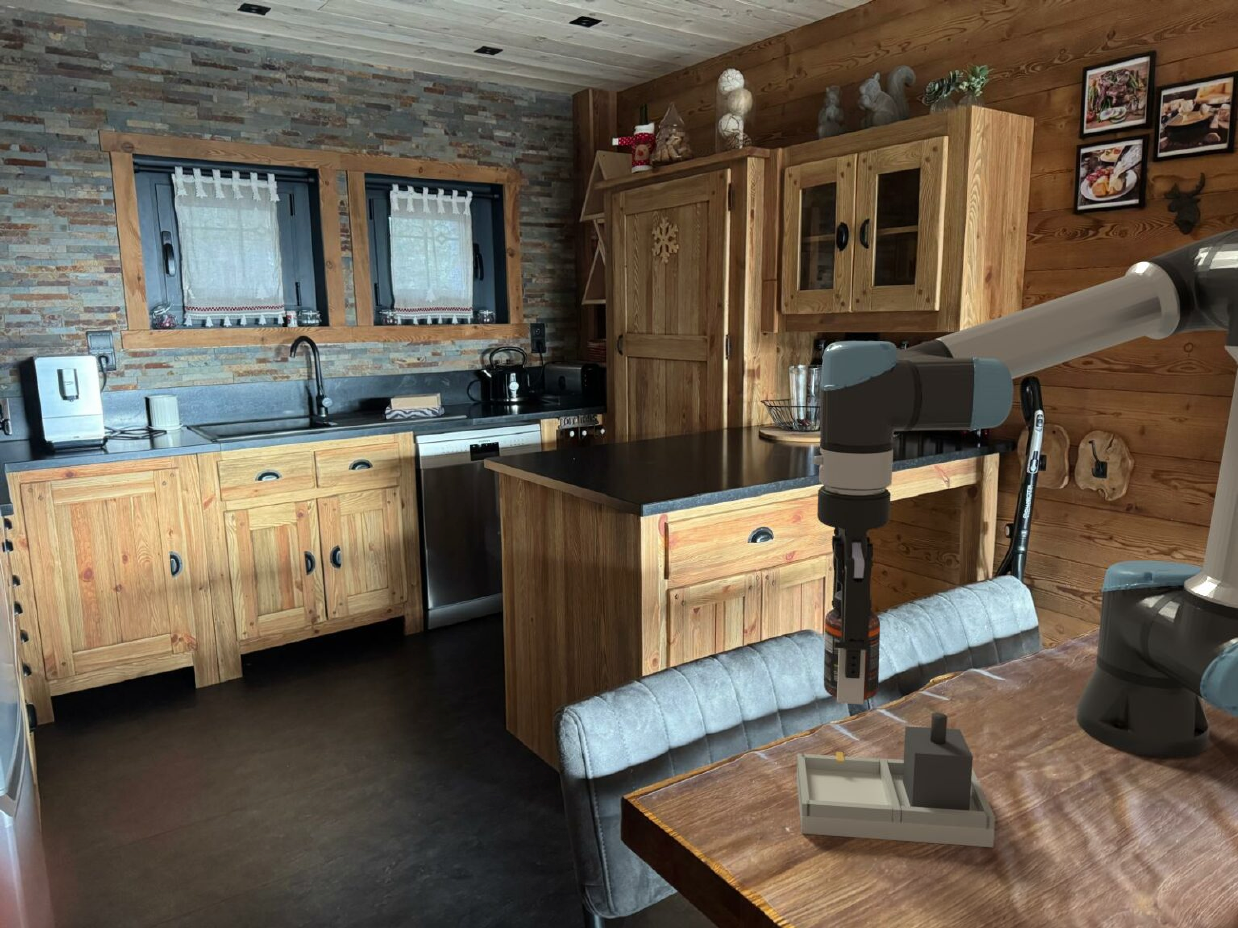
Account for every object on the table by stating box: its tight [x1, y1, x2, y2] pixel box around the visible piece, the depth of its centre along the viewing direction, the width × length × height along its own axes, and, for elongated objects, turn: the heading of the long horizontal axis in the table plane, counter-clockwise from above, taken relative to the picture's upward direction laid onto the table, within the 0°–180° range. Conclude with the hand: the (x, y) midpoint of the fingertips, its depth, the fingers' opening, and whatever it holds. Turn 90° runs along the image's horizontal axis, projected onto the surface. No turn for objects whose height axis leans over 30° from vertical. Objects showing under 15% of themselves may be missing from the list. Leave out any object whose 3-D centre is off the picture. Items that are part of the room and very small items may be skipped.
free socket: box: [796, 751, 892, 822], centre depth 100 cm, size 10×11×2 cm
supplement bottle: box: [823, 591, 881, 701], centre depth 96 cm, size 6×6×11 cm
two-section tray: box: [796, 757, 996, 848], centre depth 99 cm, size 20×11×4 cm, turn 82°
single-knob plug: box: [903, 712, 974, 811], centre depth 97 cm, size 6×6×10 cm
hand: (846, 687), depth 97 cm, fingers closed on supplement bottle, 6 cm apart
